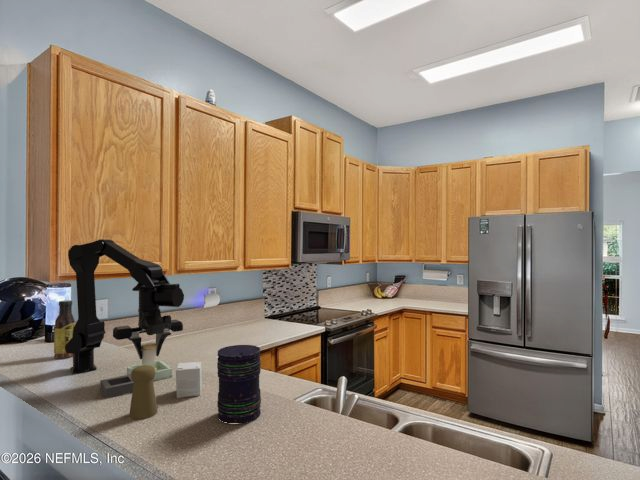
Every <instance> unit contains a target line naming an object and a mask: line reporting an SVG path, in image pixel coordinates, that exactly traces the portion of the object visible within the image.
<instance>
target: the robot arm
mask: <svg viewBox="0 0 640 480" xmlns="http://www.w3.org/2000/svg"><path fill="white" fill-rule="evenodd" d="M67 256H68V257H67V258H68V261H69V262H68V263H69V266H70V267H71V269H73V272H74V273H75V277H76V278H75V280H76V282H75V283H76V298H77V299H76V300H77V318H78V319H77V320H76V321H75V323H76V324H75V326H74V328H73V337H72V338H71V340H70V341H69V342H68V343H67V344H66V345H65V350H66V353H72V354H73V356H72V366H71V367H70V369H69V370H70V371H71V373H72V374H79V373H83V372H84V373H85V372H89V371H95V370H97V369H98V367H97V366H96V364H95V349H96V348H100V347H101V346H102V345H101V344H102V341H103V340H104V338H105V334H106V330H105V325H106V324H105V321H104V320H102V321H101V320H100V319H99V318H98V317H97V300H96V285H95V271H96V269H97V268H98V266H99V264H100V258H101V257H103V256H106V257H107V258H109V259H110V260H112V261H113V262H115V263H117V264H118V265H120V266H121V267H123V268H124V269H125V270H127V271H128V272H129V274H130V277H131V278H132V279H133V280H135V282H137V284H136V285H135V286H133V288H132V292H138V309H137V312H138V324H137V326H138V327H137V326H136V327H131V326H129V325H121V326H115V327H114V328H113V329H112V337H113V338H114V339H115V340H118V341H121V340H126V339H127V340H129V341H131V343H132V344H133V345H134V348H135V351H136V352H137V356H138V358H139V360H142V337H141V336H140V334H144V333H145V334H146V335H147V336H153V335H155V343H156V344H157V348H156V357H159V355H160V352H161V350H162V347H163V344H164V342H165V340H166V339H167V337H168V336H171V335H172V332H173V333H175V332H183V331H184V324H183V322H182V321H180V320H178V319H172V317H171V315H170V314H169V315H168V314H167V315H163V316H162V314H161V309H160V307H166V308H169V307H170V308H179V307H181V306H182V305H183V303H184V298H185V294H184V292H183V290H182V288H181V287H180V285H181V284H180V283H170V281H169V279H168V278H167V276H166V275H165V273H164V271H163V268H162V266H161V265H159V264H158V263H155V262H153V261H149V260H146V259H145V260H144V259H142V258H139V257H137V256H136V255H135V254H133V253H132V252H130V251H128V250H126V248H124V247H123V246H121V245H119V244H117V243H115V241H114V240H112V239H105V238H104V239H102V238H101V239H97V240H95V241H91V242H87V243H83V244H73V245H72V246H71V247H70V249H68V252H67ZM170 331H171V332H170Z"/></svg>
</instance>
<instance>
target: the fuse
mask: <svg viewBox="0 0 640 480" xmlns="http://www.w3.org/2000/svg"><path fill="white" fill-rule="evenodd" d="M141 347H142V359H141V364H142V366H143V365H150V366H153V367H154V369H155V371H157V367H156V361H157V356H156V348H157V344H156V342H149V343H143V344H141Z"/></svg>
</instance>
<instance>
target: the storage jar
mask: <svg viewBox="0 0 640 480" xmlns="http://www.w3.org/2000/svg"><path fill="white" fill-rule="evenodd" d="M261 362H262V361H261V348H260V347H259V346H257V345H252V344H236V345H235V344H234V345H230V346H223V347H222V348H220V349H218V350H217V362H216V363H217V365H216V369H217V372H216V373H217V377H218V393H217V401H216V402H217V405H216V406H217V411H218V412H217V419H218V418H219V419H220V420H221V421H223V422H227V423H246V424H248V423H247V422H250V423H251V421H252V422H255V421H257V418H258V417H259V416H261V412H262V411H261V407H262V406H261V405H262V404H261V403H262V397H261V388H260V374H261ZM259 418H260V417H259ZM259 418H258V419H259ZM219 419H218V420H219Z"/></svg>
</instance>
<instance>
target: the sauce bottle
mask: <svg viewBox="0 0 640 480" xmlns="http://www.w3.org/2000/svg"><path fill="white" fill-rule="evenodd" d="M58 305H59V306H58V307H59V310H58V314H59V315H57V317H56V318H55V321H54V339H53V340H54V342H53V353H54V358H55V359H59V360H60V359H68V358H73V354H72V353H66V350H65V345H66V344H67V343H68V342H69V341H70V340H71V338H72V337H73V328H74V326H75V324H76V320H75V318H74V315H73V311H72V306H73V300H71V299H69V300H66V299H65V300H60V301H58Z"/></svg>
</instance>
